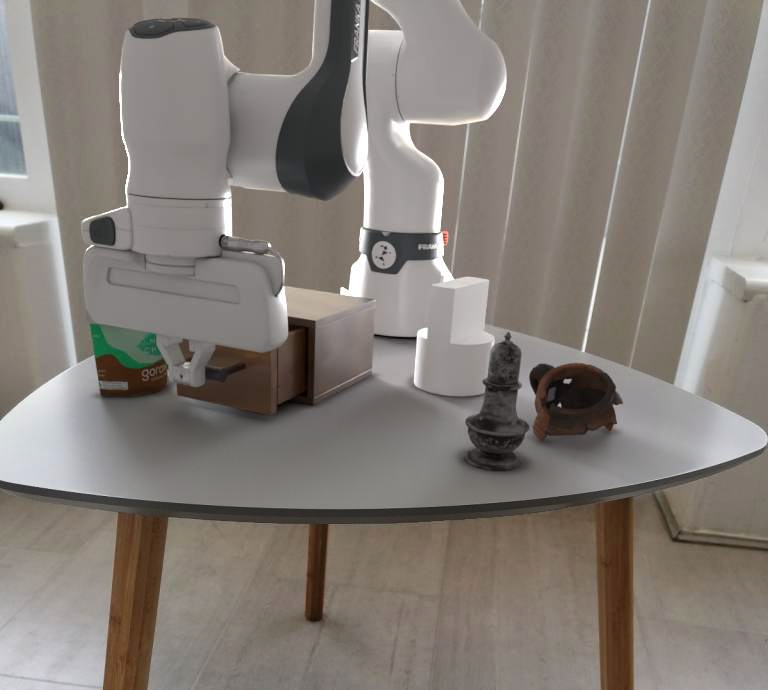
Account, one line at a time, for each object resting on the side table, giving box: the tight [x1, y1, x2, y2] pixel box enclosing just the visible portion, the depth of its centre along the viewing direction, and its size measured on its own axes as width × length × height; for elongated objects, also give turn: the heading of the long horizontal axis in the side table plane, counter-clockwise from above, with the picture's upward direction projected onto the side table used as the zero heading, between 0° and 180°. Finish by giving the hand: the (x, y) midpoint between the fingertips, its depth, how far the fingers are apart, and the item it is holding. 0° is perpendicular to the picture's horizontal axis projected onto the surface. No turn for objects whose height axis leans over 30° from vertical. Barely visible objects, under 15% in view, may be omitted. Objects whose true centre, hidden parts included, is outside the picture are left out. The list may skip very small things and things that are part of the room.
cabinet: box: [284, 285, 376, 406], centre depth 96 cm, size 15×13×9 cm
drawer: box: [167, 324, 309, 416], centre depth 87 cm, size 18×11×7 cm, turn 155°
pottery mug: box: [529, 362, 624, 442], centre depth 85 cm, size 12×10×8 cm
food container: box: [85, 308, 169, 398], centre depth 90 cm, size 12×6×10 cm, turn 168°
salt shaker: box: [464, 331, 530, 472], centre depth 75 cm, size 6×6×12 cm
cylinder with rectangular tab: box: [413, 276, 496, 397], centre depth 97 cm, size 9×9×12 cm
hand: (187, 383), depth 79 cm, fingers closed, pressing on drawer
